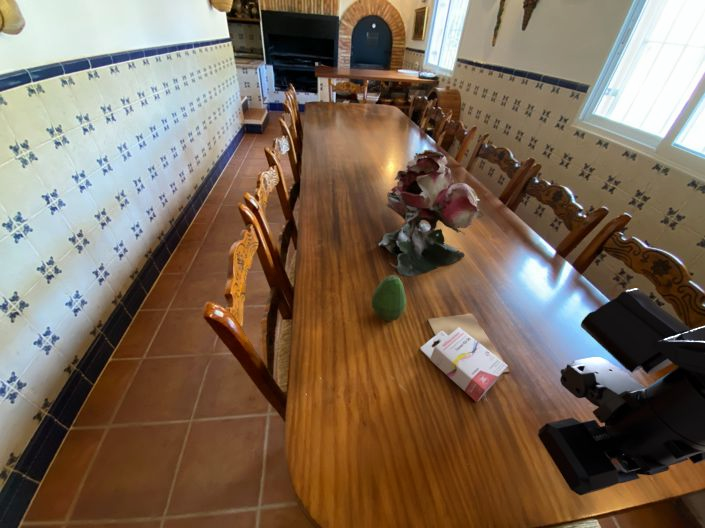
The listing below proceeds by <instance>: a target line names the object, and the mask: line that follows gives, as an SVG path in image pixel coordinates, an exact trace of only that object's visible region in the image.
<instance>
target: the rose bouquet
mask: <svg viewBox="0 0 705 528" xmlns="http://www.w3.org/2000/svg"><path fill="white" fill-rule="evenodd" d="M414 154H415V155H414V156H413V159H411V160H409V161H408V162H407V165H406V170H402V169H400V170H398V171H397V172H396V175H395V178H394V181H396V180H397V182H396V184H397V185H394V186H393V187H392V188H391V189H390V192H389V191H388V193H387V194H386V197H387V204H385V206H386V207H387V208H389V209H391V210H392V211H393V212H395V213H396V214H397V215H398V216H400V218H402V219H403V220H404V222H403V224H402V225H401V227H399V228H398V229H397V230H395V231H392V232H390V233H384V234H383V237H382V240H381V241H380V242H379V243H377V245H378V246H379V247H385V248H386V250H387V251H388V252H389V253H390V254H392V256H393V257H394V258H395V259H397V265H395V264H394V263H391V262H389V264H390V265H391V266H392V267H393V268H394V269H395V271H396V272H397V273H398V274H399V276H406V277H412V276H413V277H414V276H418V275H422V274H427V273H429V272H432V271H433V270H436V269H438V267H441V266H447V265H450V264H454V263H456V262H457V261H458V260H460V259H462V258H465V253H464V252H462V251H460V250H461V248H459V249H458V248H457V247H454V246H452V245H450V244H447V243H445V236H444V234H443V230H442V228H437V226H438V225H437V224H438V222H440V223H442V224H443V225H444V226H445V227H447V228H448V229H451V230H453V231H455V232H456V233H458V234H459V233H462V235H465V233H464V232H463V231H461V230H459V229H467V228H468V227H469V226H471V225H472V223H473V219H475V220H477V219H481V218H483V217H484V213H483V212H482V210H480V209H478V202H479V201H481V199H479V197H478V196H477V193H476V192H475V189H473V188H472V187H471V185H468V184H467V183H463V182H458V183H456V182H455V179H454V178H453V177H451V176H452V172H451V171H452V170H451V168H449V167H447V165H448V160H447V157H446V156H445V154H443V153H442V152H441V151H436V150H433V149H423V151H421V152H415V153H414ZM454 182H455V183H454ZM423 221H426V222H423ZM436 228H437V229H436ZM400 251H401V253H398V255H397V253H396V252H400Z"/></svg>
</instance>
